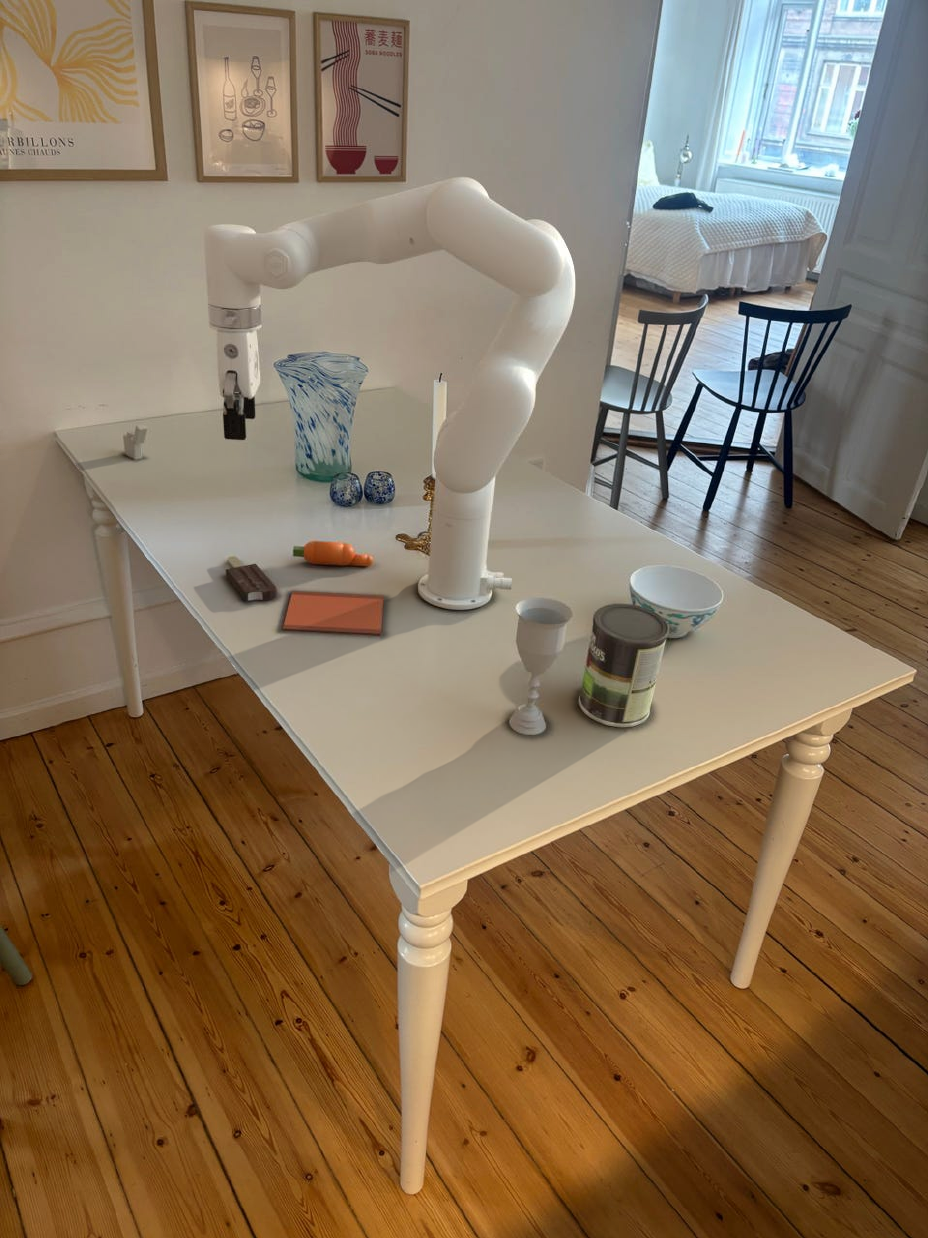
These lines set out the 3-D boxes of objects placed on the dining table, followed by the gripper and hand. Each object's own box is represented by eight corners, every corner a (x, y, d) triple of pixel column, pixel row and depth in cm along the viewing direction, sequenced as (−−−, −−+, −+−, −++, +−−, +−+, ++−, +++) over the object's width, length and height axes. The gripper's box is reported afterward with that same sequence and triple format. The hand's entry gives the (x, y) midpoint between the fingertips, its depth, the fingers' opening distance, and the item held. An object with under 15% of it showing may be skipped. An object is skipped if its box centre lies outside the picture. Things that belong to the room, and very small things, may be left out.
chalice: (551, 710, 131) (569, 599, 122) (556, 740, 125) (576, 626, 116) (499, 707, 130) (513, 596, 121) (502, 737, 125) (518, 622, 115)
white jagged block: (124, 453, 198) (120, 417, 194) (131, 452, 199) (128, 416, 195) (142, 463, 194) (139, 427, 190) (150, 462, 195) (146, 425, 191)
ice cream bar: (216, 564, 159) (248, 604, 149) (215, 556, 158) (247, 595, 148) (245, 559, 162) (279, 598, 151) (245, 550, 161) (278, 589, 150)
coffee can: (585, 727, 128) (601, 641, 121) (572, 684, 137) (587, 601, 130) (658, 729, 129) (678, 643, 122) (640, 686, 138) (658, 604, 131)
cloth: (383, 597, 154) (383, 595, 154) (380, 635, 144) (380, 633, 144) (292, 592, 153) (292, 590, 153) (282, 630, 143) (282, 628, 143)
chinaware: (603, 620, 154) (610, 579, 150) (660, 596, 163) (669, 557, 159) (673, 662, 145) (684, 619, 141) (731, 635, 153) (742, 594, 149)
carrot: (373, 560, 165) (373, 540, 163) (372, 571, 162) (372, 550, 160) (294, 556, 164) (294, 535, 162) (292, 566, 161) (291, 546, 159)
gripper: (252, 332, 129) (256, 449, 138) (268, 304, 144) (271, 411, 153) (197, 328, 129) (205, 446, 138) (219, 301, 144) (225, 409, 152)
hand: (240, 428), depth 145 cm, fingers open, 9 cm apart
